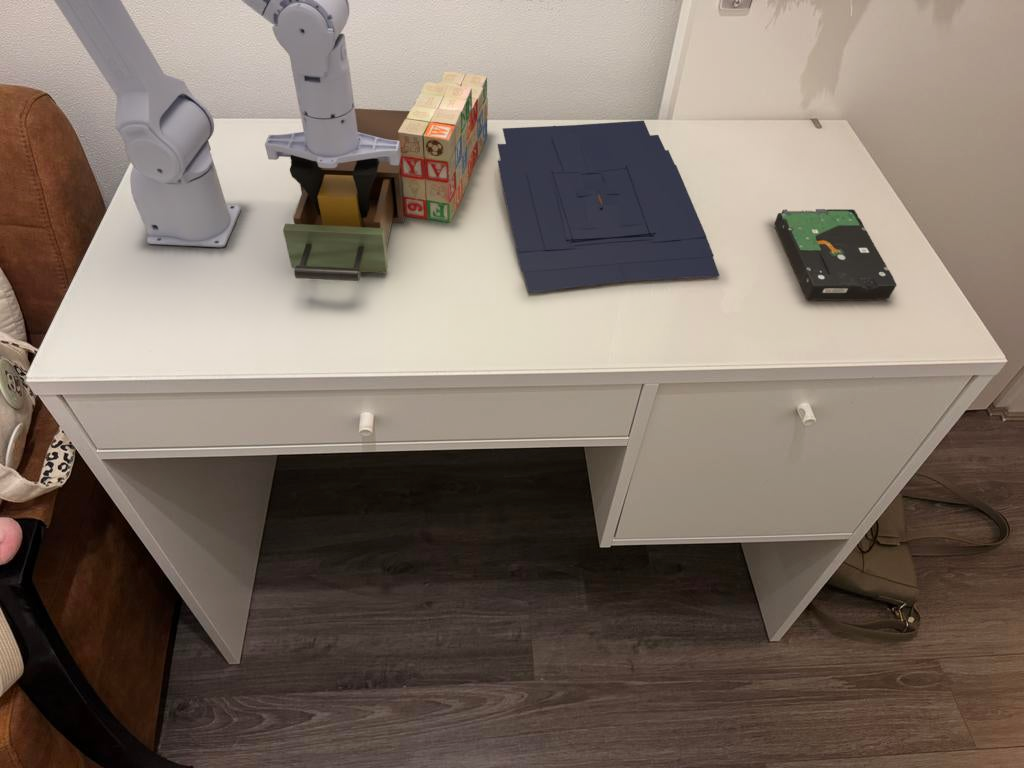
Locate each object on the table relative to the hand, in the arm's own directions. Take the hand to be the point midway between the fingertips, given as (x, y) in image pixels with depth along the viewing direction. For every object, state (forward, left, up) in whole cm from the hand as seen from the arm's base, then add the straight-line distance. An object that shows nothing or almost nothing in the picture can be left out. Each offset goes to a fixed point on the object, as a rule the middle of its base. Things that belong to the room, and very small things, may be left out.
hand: (343, 211), depth 89 cm
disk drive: (+60, +1, -5) cm, 60 cm away
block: (0, 0, -1) cm, 1 cm away
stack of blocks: (+11, +16, -5) cm, 20 cm away
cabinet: (0, +12, -5) cm, 13 cm away
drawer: (0, -2, -4) cm, 5 cm away
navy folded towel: (+31, +9, -5) cm, 33 cm away
